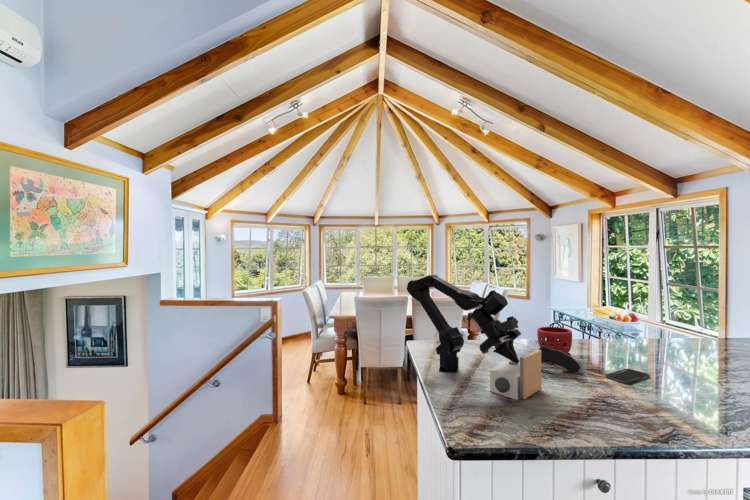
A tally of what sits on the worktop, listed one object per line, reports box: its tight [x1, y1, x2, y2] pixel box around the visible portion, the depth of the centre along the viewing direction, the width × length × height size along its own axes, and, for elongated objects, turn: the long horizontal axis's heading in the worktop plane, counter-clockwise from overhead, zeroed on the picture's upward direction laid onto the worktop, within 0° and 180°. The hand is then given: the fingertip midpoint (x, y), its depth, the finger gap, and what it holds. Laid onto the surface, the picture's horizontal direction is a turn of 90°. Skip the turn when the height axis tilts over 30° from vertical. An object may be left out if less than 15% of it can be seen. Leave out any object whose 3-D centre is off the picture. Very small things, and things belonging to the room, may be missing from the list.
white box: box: [489, 360, 520, 400], centre depth 117 cm, size 9×15×8 cm, turn 133°
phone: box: [605, 368, 651, 385], centre depth 127 cm, size 8×1×15 cm
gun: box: [538, 346, 584, 374], centre depth 134 cm, size 3×16×10 cm, turn 79°
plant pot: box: [536, 326, 573, 356], centre depth 150 cm, size 13×13×12 cm
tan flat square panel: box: [519, 349, 542, 400], centre depth 113 cm, size 2×12×12 cm, turn 133°
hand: (517, 362), depth 116 cm, fingers closed
